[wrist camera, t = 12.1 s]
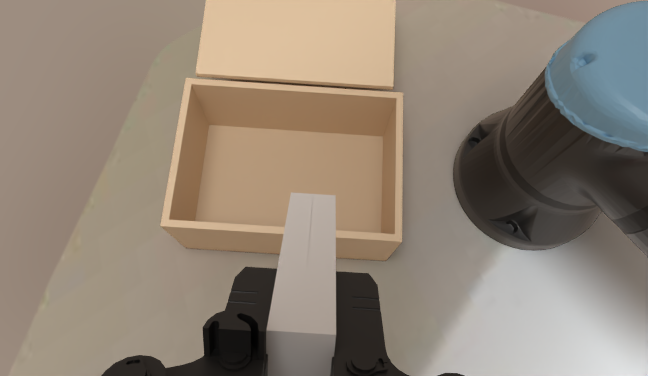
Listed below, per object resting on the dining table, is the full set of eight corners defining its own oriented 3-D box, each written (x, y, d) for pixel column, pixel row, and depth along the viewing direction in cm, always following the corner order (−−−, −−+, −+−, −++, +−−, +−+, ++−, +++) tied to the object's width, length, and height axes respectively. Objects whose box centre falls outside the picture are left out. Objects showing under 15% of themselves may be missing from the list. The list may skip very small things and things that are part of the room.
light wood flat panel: (392, 90, 45) (394, -21, 48) (393, 86, 44) (396, -26, 47) (197, 76, 45) (212, -34, 48) (195, 73, 44) (211, -39, 47)
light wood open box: (387, 134, 53) (403, 92, 45) (385, 261, 49) (402, 241, 40) (205, 122, 53) (185, 77, 45) (186, 248, 49) (160, 226, 40)
